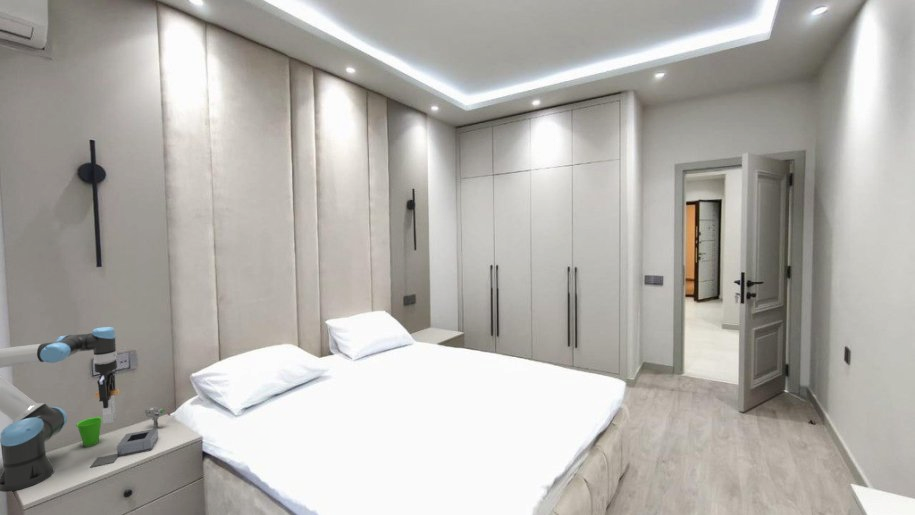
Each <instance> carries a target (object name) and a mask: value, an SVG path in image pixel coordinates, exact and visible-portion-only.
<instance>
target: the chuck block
mask: <svg viewBox="0 0 915 515" xmlns="http://www.w3.org/2000/svg"><path fill="white" fill-rule="evenodd" d="M158 439H159V429H158V427H157V428H151V429H146V430H139V431H135V432H130V433H126V434H125V435H124V436H123V438H121V440H120V442H119V443H118V444H117V445H116V451H117V452H116V454H118V458H120V457H124V456H129V455H134V454H139V453H144V452H149V451H152V450H153V448H154V446H155V445H154V444H156V443H157V441H158Z"/></svg>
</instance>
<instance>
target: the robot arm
mask: <svg viewBox="0 0 915 515" xmlns="http://www.w3.org/2000/svg"><path fill="white" fill-rule="evenodd" d="M55 340H56V341H52V342H44V343H37V344H36V343H35V344H27V345H20V346H12V347H11V346H10V347H2V348H0V369H1V368H8V367H15V366H17V367H18V366H22V365H30V364H39V363H50V364H55V363H58V362H61V361H64V360H65V359H67V358H69V357H71V356H72V355H75V354H77V353H79V352H86V351H88V352H89V351H93V363H94V373H98V374H99V377H98V378H99V379H97V381H96V382H97V387H98V392H99V402H101V409H102V408H103V414H102V416H103V415H107V414H111V402H110V399H109V390H113V389H116V371H115V370H116V369H117V368H118V364H117V362H118V361H117V356H118V353H117V349H116V348H117V347H116V333H115V328H114V327H112V326H103V327H97V328H94V329H93V330H92V332H91V333H82V334H81V333H79V334H67V335H61V336H58V338H57V339H55ZM0 412H1V413H3V415H5V416H6V417H8V419H9V418H10V419H11V420H12V423H11V424H9V425H7V426H5V427H4V428H3V429H2V430H1V432H0V448H1V458H2V464H3V467H2V471H1V474H0V492H3V493H5V492H15V491H18V490H23V489H25V488H29V487H31V486H35V485H37V484H39V483H41V482H43V481H45V480H47V479H49V477H51V476H52V475H53V473H54V472H55V471H54V464H52V462H51V461H50V459H49V458H48V456H47V454H46V453H47V451H46V442H48V441H49V440H50V439H51V438H53V437H54V436H55V435H57V434H58V433H60V432H61V431H62V429H64V427H65V425H66V424H67V421H68V416H67V412H66V411H65V410H64V409H62V408H61V407H58V406H49V405H48V404H46V403H45V402H40V403H39V402H38V403H37V402H36V401H35V400H33V399H32V398H30V397H29V396H27V395H26V393H24V392H22V391H21V390H20V389H19V388H17V387H16V386H15V385H13V384H12V383H11V382H9V381H8V380H6V379H5V378H4V377H3V376H1V375H0Z"/></svg>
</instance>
